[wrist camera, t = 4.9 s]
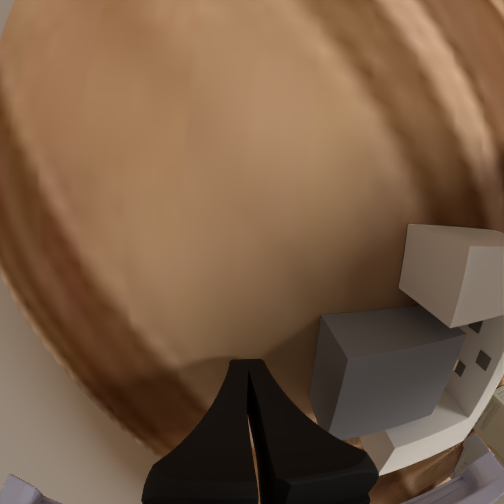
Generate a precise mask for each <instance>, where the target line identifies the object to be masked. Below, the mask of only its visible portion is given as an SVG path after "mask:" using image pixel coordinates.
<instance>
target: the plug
mask: <svg viewBox="0 0 504 504" xmlns="http://www.w3.org/2000/svg"><path fill="white" fill-rule="evenodd" d="M466 335H467V333H465V332H464V331H463V330H462V329H460V328H459V327H453V328H449V327H448V326H447V325H445V324H444V323H443V322H442V321H440V320H439V319H438V318H437V317H435V316H434V315H433V314H432V313H430V312H429V311H428V310H427V309H425V308H424V307H423V306H421V305H413V306H405V307H397V308H388V309H379V310H370V311H359V312H348V313H336V314H323V315H321V319H320V328H319V335H318V343H317V350H316V357H315V363H314V370H313V376H312V382H311V388H310V394H309V399H310V402H311V404H312V407H313V410H314V413H315V416H316V419H317V422H318V425H319V426H320V427H321V428H323V429H324V430H326V431H327V432H329V433H330V434H332V435H333V436H335V437H336V438H338V439H340V440H342V441H343V440H347V439H352V438H356V437H360V436H365V435H369V434H372V433H376V432H380V431H383V430H387V429H390V428H394V427H397V426H400V425H403V424H406V423H409V422H412V421H415V420H418V419H421V418H423V417H426V416H429V415H431V414H432V412H433V410H434V409H435V407H436V405H437V403H438V401H439V399H440V397H441V395H442V393H443V391H444V389H445V386H446V384H447V382H448V380H449V378H450V375H451V373H452V371H454V370H455V368H456V366H457V363H458V361H459V359H458V356H459V354H460V351H461V349H462V346H463V343H464V340H465V338H466Z"/></svg>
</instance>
